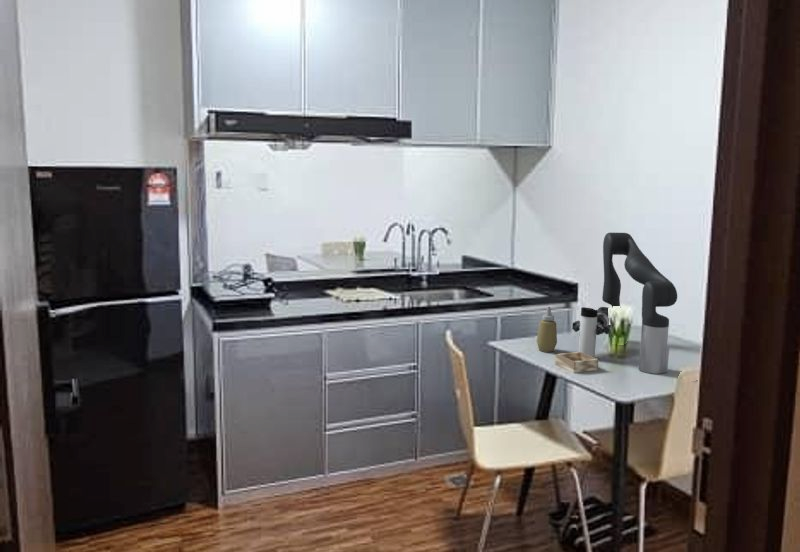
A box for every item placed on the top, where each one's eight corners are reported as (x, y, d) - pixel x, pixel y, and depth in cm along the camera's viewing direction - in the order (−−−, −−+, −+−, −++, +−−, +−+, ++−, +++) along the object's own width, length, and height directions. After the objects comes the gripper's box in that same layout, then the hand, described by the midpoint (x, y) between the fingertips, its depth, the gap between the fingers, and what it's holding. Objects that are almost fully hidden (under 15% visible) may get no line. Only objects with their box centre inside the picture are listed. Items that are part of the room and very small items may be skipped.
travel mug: (574, 356, 272) (577, 306, 268) (587, 354, 274) (590, 305, 271) (584, 360, 266) (587, 309, 263) (597, 358, 269) (601, 308, 265)
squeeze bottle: (546, 346, 285) (548, 304, 282) (560, 351, 278) (563, 307, 275) (531, 349, 280) (534, 306, 277) (546, 354, 274) (548, 309, 271)
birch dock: (578, 361, 264) (579, 351, 263) (597, 369, 254) (598, 359, 253) (555, 364, 259) (555, 354, 259) (573, 372, 250) (574, 362, 249)
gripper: (581, 311, 283) (568, 319, 270) (616, 316, 276) (605, 324, 263) (580, 329, 285) (567, 337, 271) (615, 334, 277) (604, 343, 264)
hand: (586, 330), depth 267 cm, fingers open, 8 cm apart
